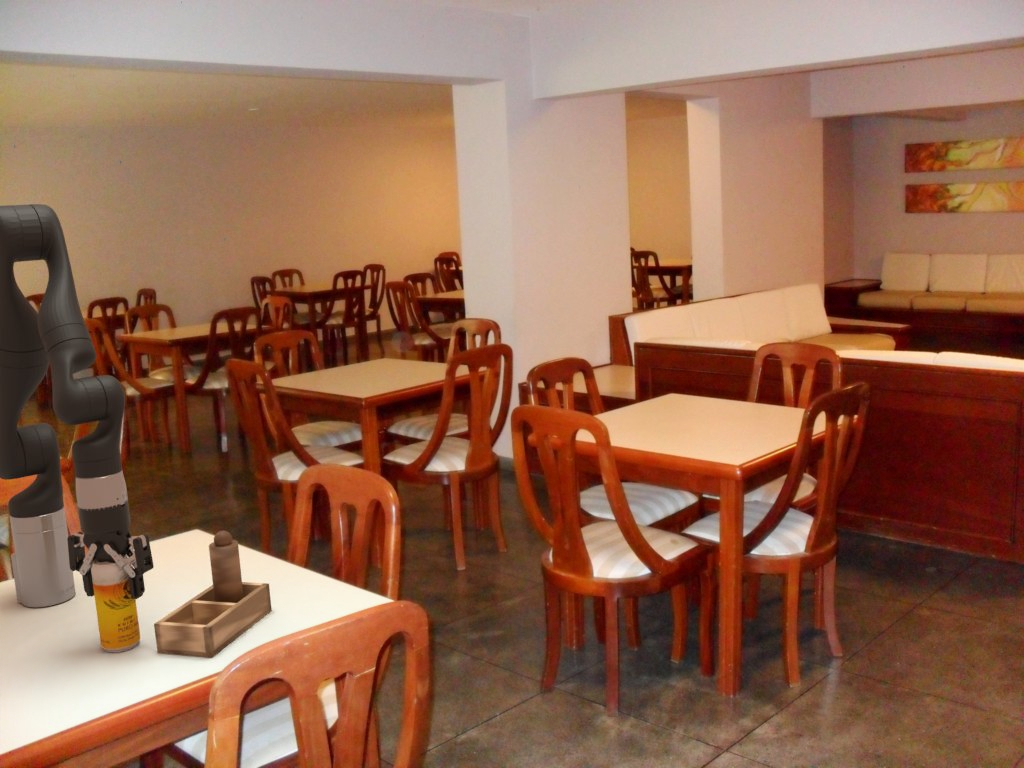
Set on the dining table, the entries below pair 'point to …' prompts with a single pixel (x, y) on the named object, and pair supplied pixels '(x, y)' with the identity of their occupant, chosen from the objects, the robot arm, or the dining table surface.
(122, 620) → the beer can
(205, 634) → the caddy
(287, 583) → the dining table surface
